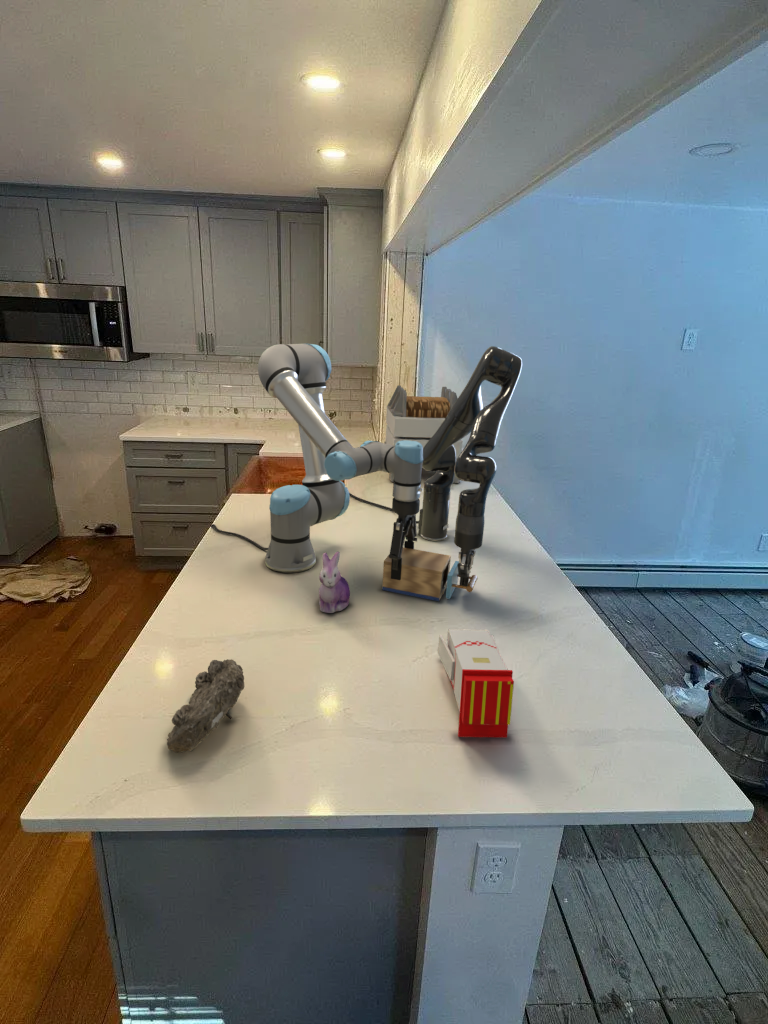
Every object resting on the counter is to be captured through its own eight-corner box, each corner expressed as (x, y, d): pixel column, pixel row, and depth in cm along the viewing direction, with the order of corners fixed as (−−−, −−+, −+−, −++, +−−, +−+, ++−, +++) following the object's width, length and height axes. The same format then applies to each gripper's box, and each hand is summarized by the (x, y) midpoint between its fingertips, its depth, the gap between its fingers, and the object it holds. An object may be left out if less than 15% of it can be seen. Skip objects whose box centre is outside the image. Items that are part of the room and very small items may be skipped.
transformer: (382, 463, 289) (386, 382, 275) (445, 464, 293) (451, 384, 279) (390, 482, 257) (394, 392, 243) (460, 483, 261) (468, 394, 247)
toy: (488, 613, 130) (523, 677, 101) (484, 667, 133) (517, 744, 104) (435, 612, 130) (455, 676, 101) (432, 666, 133) (451, 743, 103)
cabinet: (448, 583, 165) (451, 555, 162) (439, 601, 155) (441, 571, 152) (394, 573, 170) (396, 545, 167) (382, 589, 160) (383, 560, 157)
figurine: (324, 618, 144) (324, 564, 139) (310, 599, 152) (310, 548, 147) (358, 610, 148) (359, 558, 143) (342, 593, 156) (343, 543, 151)
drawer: (477, 587, 162) (479, 564, 159) (470, 603, 153) (473, 580, 150) (407, 573, 168) (408, 552, 165) (396, 588, 159) (398, 566, 156)
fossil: (192, 660, 117) (244, 628, 112) (224, 691, 120) (276, 661, 115) (142, 746, 98) (202, 712, 93) (182, 779, 101) (242, 748, 96)
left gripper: (407, 513, 143) (402, 590, 150) (430, 488, 164) (425, 556, 172) (379, 509, 145) (375, 585, 153) (405, 484, 166) (401, 552, 174)
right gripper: (479, 539, 145) (472, 599, 150) (487, 522, 156) (481, 579, 162) (450, 534, 147) (445, 594, 153) (460, 518, 159) (455, 574, 164)
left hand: (402, 570), depth 162 cm, fingers closed on cabinet, 11 cm apart
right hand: (463, 586), depth 157 cm, fingers closed
